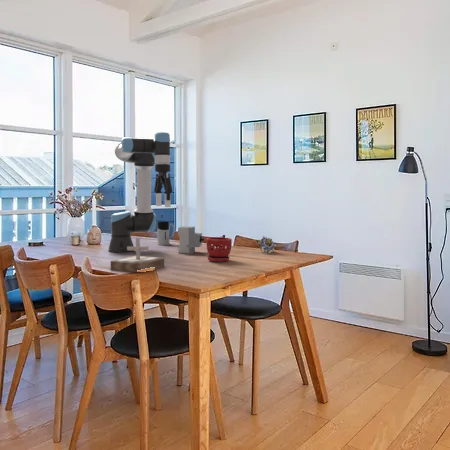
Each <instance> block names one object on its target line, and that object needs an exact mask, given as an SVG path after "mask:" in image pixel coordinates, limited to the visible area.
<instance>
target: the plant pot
mask: <svg viewBox="0 0 450 450" xmlns="http://www.w3.org/2000/svg"><path fill="white" fill-rule="evenodd" d="M232 243H233V241H232V238H231V237H222V236H221V237H218V236H216V237H215V236H214V237H213V236H212V237H210V236H209V237H207V238H206V250H207V253H208V256H207V260H208V261H210V262H212V263H213V262H217V263H218V262H219V263H222V262H223V263H224V262H227V261H229V260H230V256H229V255H230V254H231V249H232Z"/></svg>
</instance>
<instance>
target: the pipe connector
mask: <svg viewBox="0 0 450 450" xmlns="http://www.w3.org/2000/svg"><path fill="white" fill-rule="evenodd" d="M140 240H141V239H140V237H136V238H135V246H134V247H127V250H133V251H134V252H135V256H136V259H140V256H141V251H149V248H150V246H148V245H147V246H141V245H140V243H141V241H140Z"/></svg>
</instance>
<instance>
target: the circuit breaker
mask: <svg viewBox="0 0 450 450" xmlns="http://www.w3.org/2000/svg"><path fill="white" fill-rule="evenodd" d="M177 228H178V229H177V235H178V236H179V244H178V245H177V251H178V252H177V253H178V254H193V253H195V252H196V248H199V247H200V248H201V247H202V246H203V241H205V240H204V239H205V238H204V237H203V232H196V227H195V226H188V225H187V226H185V225H184V226H182V225H181V226H179V227H177Z"/></svg>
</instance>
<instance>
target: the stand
mask: <svg viewBox="0 0 450 450" xmlns="http://www.w3.org/2000/svg"><path fill="white" fill-rule="evenodd" d="M150 267H155V268H156V269H160V268H164V267H165V258H164V257H154V256H141V255H140V259H136V255H132V256H127V257H122V258H118V259H114V260H113V259H112V260H110V270H115V271H124V272H131V271H137V270H141V269H145V268H150ZM156 269H155V270H156Z"/></svg>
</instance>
